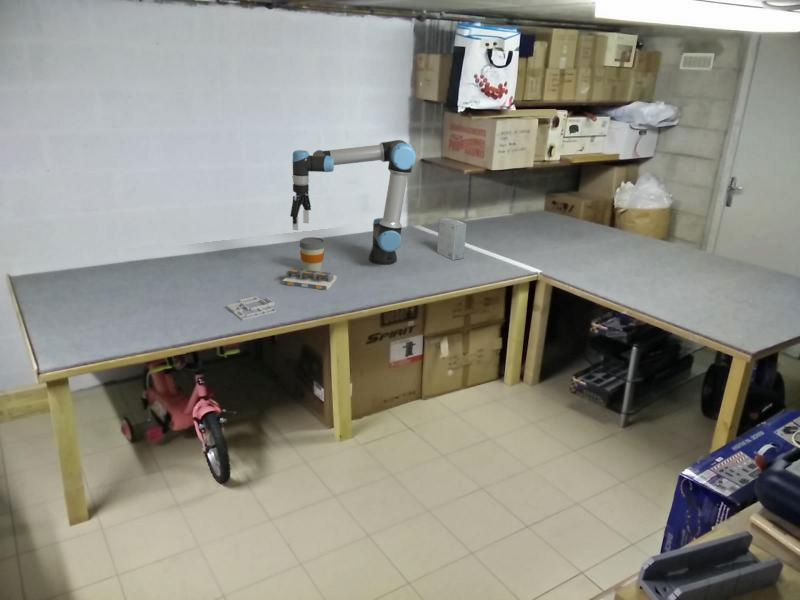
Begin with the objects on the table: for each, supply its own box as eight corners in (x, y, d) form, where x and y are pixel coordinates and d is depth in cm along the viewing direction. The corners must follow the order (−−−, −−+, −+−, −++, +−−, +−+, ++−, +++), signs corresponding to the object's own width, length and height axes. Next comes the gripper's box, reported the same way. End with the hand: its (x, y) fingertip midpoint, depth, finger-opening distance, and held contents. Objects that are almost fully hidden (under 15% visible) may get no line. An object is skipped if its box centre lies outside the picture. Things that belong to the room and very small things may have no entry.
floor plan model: (256, 293, 285) (255, 289, 284) (283, 311, 268) (283, 307, 267) (217, 301, 274) (216, 297, 273) (242, 321, 256) (242, 317, 256)
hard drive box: (464, 258, 346) (467, 224, 339) (453, 260, 342) (456, 225, 335) (446, 251, 358) (449, 217, 351) (436, 252, 354) (438, 218, 347)
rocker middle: (318, 273, 304) (318, 270, 303) (311, 276, 294) (311, 273, 294) (308, 272, 305) (308, 269, 304) (301, 275, 295) (301, 272, 295)
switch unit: (336, 279, 306) (336, 269, 304) (326, 290, 292) (326, 280, 290) (293, 274, 310) (293, 264, 308) (282, 284, 295) (282, 274, 294)
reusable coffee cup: (322, 264, 325) (323, 236, 320) (326, 272, 314) (326, 244, 308) (298, 265, 322) (298, 237, 317) (301, 273, 311) (300, 244, 305)
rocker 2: (331, 275, 303) (332, 272, 302) (325, 277, 293) (325, 275, 293) (322, 274, 303) (322, 271, 303) (315, 276, 294) (315, 273, 293)
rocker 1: (304, 272, 305) (304, 269, 305) (297, 274, 295) (297, 271, 295) (294, 270, 306) (294, 268, 305) (287, 273, 296) (287, 270, 296)
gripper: (303, 178, 312) (303, 219, 320) (282, 187, 289) (283, 231, 297) (317, 179, 310) (317, 221, 318) (298, 189, 288) (298, 233, 296)
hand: (300, 226), depth 308 cm, fingers open, 13 cm apart
